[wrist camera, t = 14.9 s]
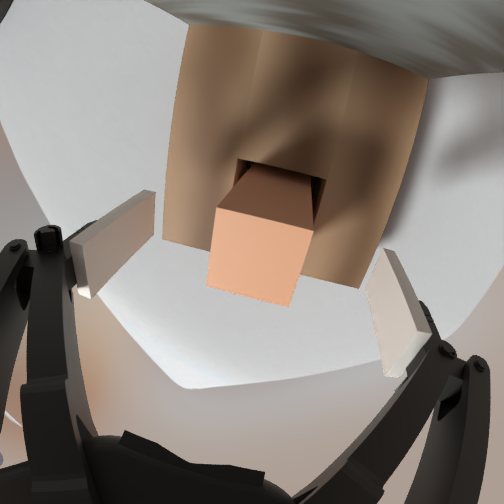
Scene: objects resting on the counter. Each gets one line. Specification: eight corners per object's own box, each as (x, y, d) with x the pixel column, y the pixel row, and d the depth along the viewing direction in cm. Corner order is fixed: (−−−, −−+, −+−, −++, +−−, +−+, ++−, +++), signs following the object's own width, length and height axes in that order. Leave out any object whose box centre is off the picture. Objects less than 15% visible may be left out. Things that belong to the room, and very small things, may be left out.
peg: (248, 206, 25) (206, 285, 15) (257, 159, 23) (216, 207, 13) (297, 219, 25) (288, 307, 15) (309, 171, 23) (313, 231, 12)
